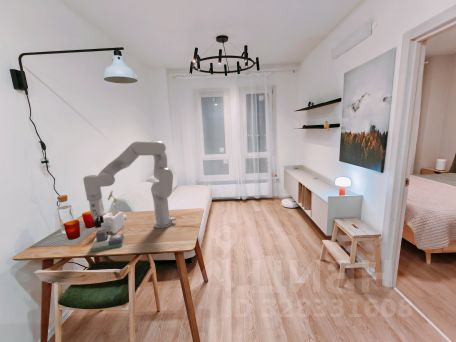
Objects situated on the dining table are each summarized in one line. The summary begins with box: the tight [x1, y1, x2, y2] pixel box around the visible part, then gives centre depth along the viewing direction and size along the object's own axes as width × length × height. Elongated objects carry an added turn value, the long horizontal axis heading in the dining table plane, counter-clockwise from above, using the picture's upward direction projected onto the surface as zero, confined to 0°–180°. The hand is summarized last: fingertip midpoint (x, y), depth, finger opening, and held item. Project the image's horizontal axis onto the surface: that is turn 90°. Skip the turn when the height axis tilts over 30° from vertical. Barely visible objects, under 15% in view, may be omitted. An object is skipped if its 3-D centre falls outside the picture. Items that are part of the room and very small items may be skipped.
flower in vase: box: [107, 190, 127, 220], centre depth 165 cm, size 13×11×25 cm
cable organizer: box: [97, 211, 126, 234], centre depth 149 cm, size 15×11×12 cm
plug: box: [95, 229, 108, 242], centre depth 130 cm, size 5×4×8 cm
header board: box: [90, 233, 125, 253], centre depth 132 cm, size 16×12×4 cm
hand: (99, 224), depth 129 cm, fingers open, 5 cm apart
